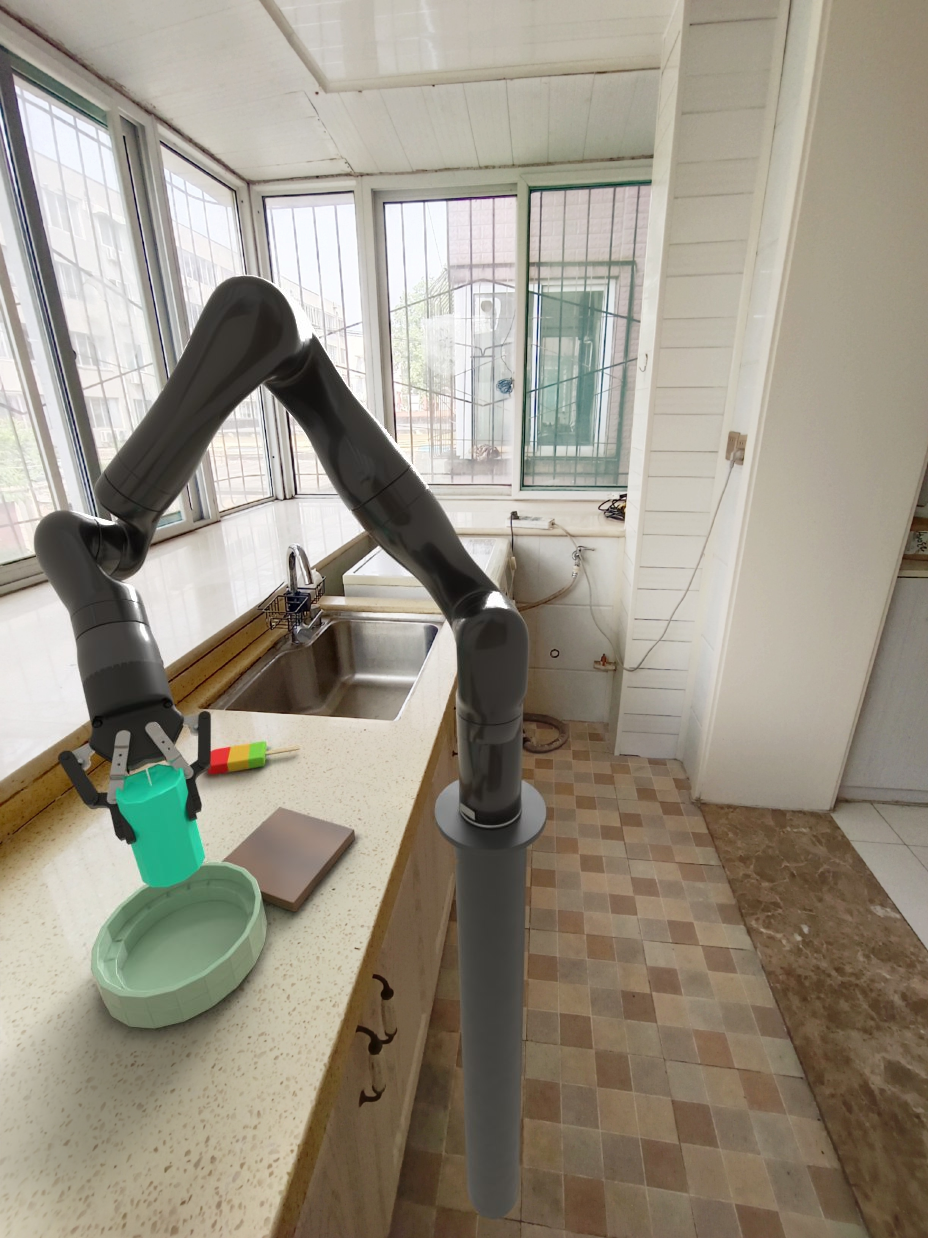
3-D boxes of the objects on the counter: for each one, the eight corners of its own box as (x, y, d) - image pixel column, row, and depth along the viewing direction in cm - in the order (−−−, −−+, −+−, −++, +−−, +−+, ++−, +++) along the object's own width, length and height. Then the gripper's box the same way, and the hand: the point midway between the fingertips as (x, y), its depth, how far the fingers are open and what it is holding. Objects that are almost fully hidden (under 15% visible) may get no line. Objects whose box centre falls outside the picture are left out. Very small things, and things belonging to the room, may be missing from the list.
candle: (214, 863, 56) (190, 767, 52) (152, 898, 52) (120, 798, 48) (193, 834, 60) (168, 743, 56) (133, 865, 56) (102, 769, 52)
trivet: (281, 814, 80) (279, 806, 80) (355, 837, 75) (354, 829, 75) (212, 881, 69) (210, 872, 68) (294, 913, 64) (293, 903, 64)
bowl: (194, 877, 70) (186, 847, 68) (296, 917, 64) (291, 885, 62) (67, 995, 56) (53, 961, 54) (183, 1060, 50) (171, 1024, 48)
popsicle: (211, 758, 94) (209, 748, 93) (300, 743, 98) (299, 734, 97) (205, 777, 89) (203, 767, 88) (300, 761, 93) (299, 752, 92)
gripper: (31, 680, 51) (66, 860, 46) (195, 643, 58) (241, 794, 53) (50, 706, 57) (83, 867, 52) (197, 669, 64) (239, 807, 59)
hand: (163, 829), depth 53 cm, fingers closed on candle, 4 cm apart
